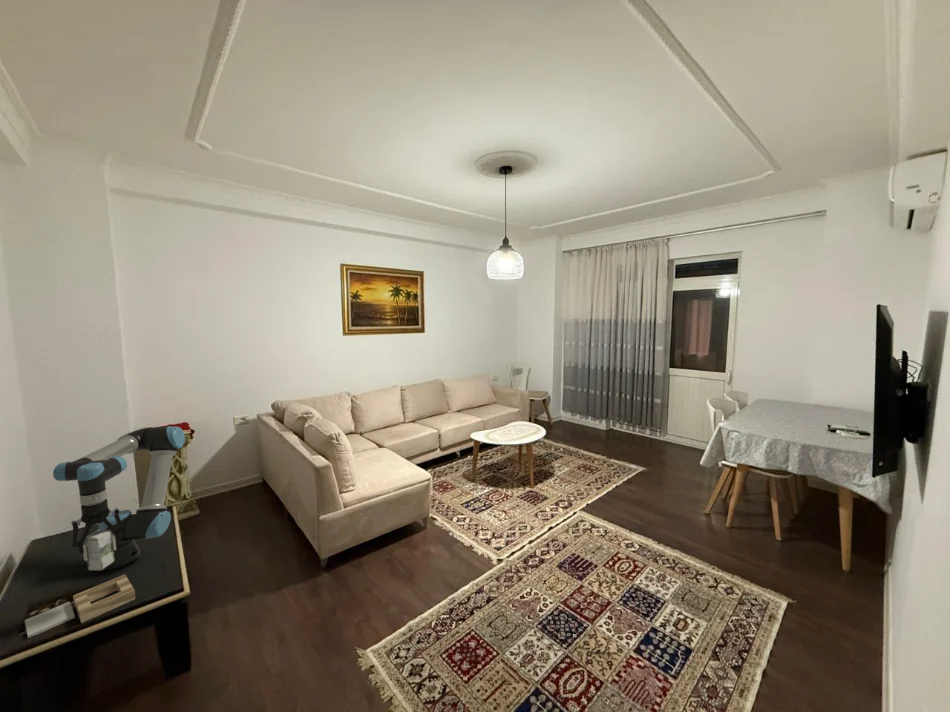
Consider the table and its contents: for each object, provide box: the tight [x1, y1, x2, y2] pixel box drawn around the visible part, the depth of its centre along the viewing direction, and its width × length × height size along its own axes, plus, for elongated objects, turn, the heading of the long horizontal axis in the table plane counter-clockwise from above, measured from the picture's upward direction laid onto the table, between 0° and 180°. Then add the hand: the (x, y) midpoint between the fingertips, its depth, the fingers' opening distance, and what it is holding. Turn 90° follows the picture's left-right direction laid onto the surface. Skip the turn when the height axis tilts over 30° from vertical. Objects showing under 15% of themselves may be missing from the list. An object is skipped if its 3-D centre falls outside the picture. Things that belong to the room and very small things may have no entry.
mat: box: [24, 601, 76, 639], centre depth 148 cm, size 12×12×1 cm
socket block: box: [72, 574, 136, 624], centre depth 157 cm, size 16×16×4 cm
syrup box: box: [84, 529, 115, 571], centre depth 155 cm, size 6×6×14 cm
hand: (100, 553), depth 155 cm, fingers closed on syrup box, 8 cm apart
